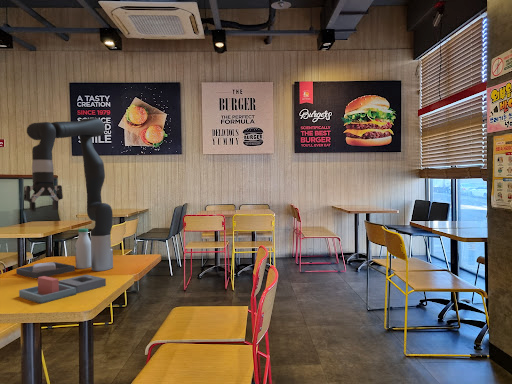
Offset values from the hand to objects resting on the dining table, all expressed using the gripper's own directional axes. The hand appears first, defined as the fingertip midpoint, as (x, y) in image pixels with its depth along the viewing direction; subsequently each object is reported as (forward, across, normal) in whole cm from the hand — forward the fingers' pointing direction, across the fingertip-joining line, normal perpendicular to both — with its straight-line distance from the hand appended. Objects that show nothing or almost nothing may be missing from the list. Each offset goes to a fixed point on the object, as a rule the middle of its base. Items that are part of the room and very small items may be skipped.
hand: (44, 210), depth 147 cm
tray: (+32, +6, +12) cm, 35 cm away
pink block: (+28, +6, +18) cm, 33 cm away
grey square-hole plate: (+32, -7, +13) cm, 35 cm away
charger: (+32, -13, -28) cm, 45 cm away
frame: (+32, -14, -28) cm, 45 cm away
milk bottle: (+32, -30, -22) cm, 49 cm away
